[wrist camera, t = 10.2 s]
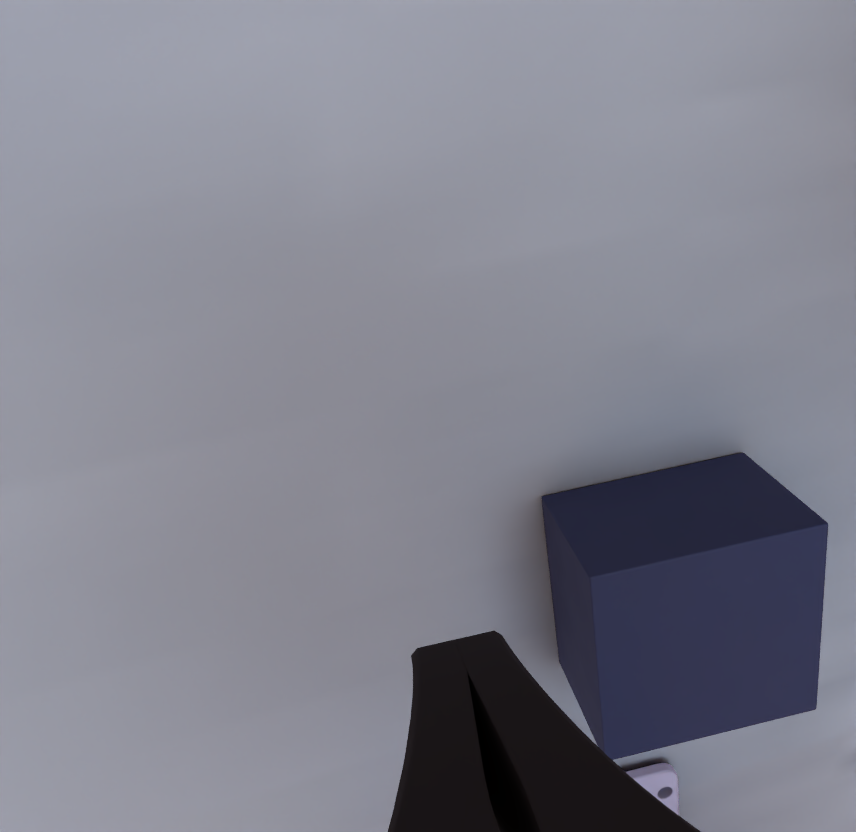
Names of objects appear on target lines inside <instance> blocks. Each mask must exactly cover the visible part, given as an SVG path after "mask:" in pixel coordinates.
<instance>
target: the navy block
mask: <svg viewBox="0 0 856 832" xmlns="http://www.w3.org/2000/svg"><path fill="white" fill-rule="evenodd" d="M542 507H543V516H544V525H545V534H546V544H547V553H548V562H549V571H550V581H551V590H552V599H553V608H554V617H555V627H556V636H557V645H558V654H559V662H560V664H561V666H562V669H563V671H564V673H565V675H566V677H567V679H568V682H569V684H570V686H571V688H572V690H573V693H574V695H575V697H576V699H577V701H578V703H579V706H580V708H581V710H582V712H583V714H584V717H585V719H586V721H587V723H588V725H589V727H590V730H591V732H592V734H593V736H594V738H595V740H596V743H597V745H598V747H599V748H600V749H601V750H602V751H603V752H604V753H605V754H606V755H607V756H608V757H609V758H610V759H611V760H614V759H618V758H622V757H626V756H630V755H634V754H638V753H642V752H646V751H650V750H654V749H658V748H662V747H666V746H670V745H674V744H678V743H682V742H686V741H690V740H694V739H698V738H702V737H706V736H710V735H715V734H719V733H723V732H727V731H731V730H735V729H739V728H743V727H747V726H751V725H755V724H759V723H763V722H767V721H771V720H775V719H779V718H783V717H787V716H791V715H795V714H799V713H803V712H807V711H811V710H815V709H816V705H817V690H818V674H819V659H820V643H821V628H822V612H823V597H824V581H825V566H826V550H827V535H828V523H827V522H826V521H825V520H823V519H822V518H821V517H820V516H819V515H817V514H816V513H815V512H814V511H813V510H811V509H810V508H809V507H808V506H807V505H805V504H804V503H803V502H802V501H801V500H799V499H798V498H797V497H796V496H795V495H793V494H792V493H791V492H790V491H789V490H788V489H786V488H785V487H784V486H783V485H782V484H780V483H779V482H778V481H777V480H776V479H774V478H773V477H772V476H771V475H770V474H768V473H767V472H766V471H765V470H764V469H762V468H761V467H760V466H759V465H758V464H756V463H755V462H754V461H753V460H752V459H750V458H749V457H748V456H747V455H746V454H744V453H739V454H734V455H730V456H725V457H720V458H716V459H711V460H707V461H702V462H697V463H693V464H688V465H684V466H679V467H675V468H670V469H665V470H661V471H656V472H652V473H647V474H642V475H638V476H633V477H629V478H624V479H620V480H615V481H610V482H606V483H601V484H597V485H592V486H587V487H583V488H578V489H574V490H569V491H565V492H560V493H555V494H551V495H546V496H542Z"/></svg>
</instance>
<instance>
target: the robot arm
mask: <svg viewBox="0 0 856 832" xmlns="http://www.w3.org/2000/svg"><path fill="white" fill-rule="evenodd" d="M411 657H412V664H413V698H412V710H411V720H410V727H409V733H408V740H407V747H406V753H405V759H404V765H403V770H402V774H401V779H400V783H399V788H398V792H397V797H396V801H395V805H394V810H393V814H392V818H391V822H390V825H389V829H388V832H700V831H699V830H697V829H696V828H695V827H693V826H692V825H691V824H689V823H688V822H687V821H685V820H684V819H683V818H681V817H680V816H679V791H678V776H677V773H676V771H675V770H674V768H673V766H672V765H670V764H668V763H658V764H654V765H650V766H646V767H642V768H638V769H634V770H630V771H626V772H625V771H624V770H623V769H621V768H620V767H619V766H618V765H617V764H616V763H615V762H614V761H613V760H611V759H610V758H609V757H608V756H607V755H606V754H605V753H604V752H603V751H602V750H601V749H600V748H599V747H598V746H597V745H596V744H594V743H593V742H592V741H591V740H590V739H589V738H588V737H587V736H586V735H585V734H584V733H583V732H582V731H581V730H580V729H579V728H578V727H577V726H576V725H575V724H574V722H573V721H572V720H571V719H570V718H569V717H568V716H567V715H566V714H565V713H564V712H563V711H562V710H561V709H560V708H559V706H558V705H557V704H556V703H555V702H554V701H553V700H552V699H551V698H550V697H549V696H548V694H547V693H546V692H545V691H544V690H543V689H542V688H541V686H540V685H539V684H538V683H537V682H536V680H535V679H534V678H533V677H532V676H531V674H530V673H529V672H528V671H527V670H526V668H525V667H524V666H523V664H522V663H521V662H520V661H519V659H518V658H517V657H516V655H515V654H514V653H513V651H512V650H511V648H510V647H509V645H508V644H507V643H506V641H505V639H504V638H503V636H502V635H501V634H499V633H497V632H496V631H491V632H486V633H482V634H477V635H473V636H469V637H464V638H460V639H455V640H451V641H447V642H442V643H438V644H434V645H429V646H425V647H420V648H417V649H416V651H415V652H414V653H413V654H412V655H411Z"/></svg>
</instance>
